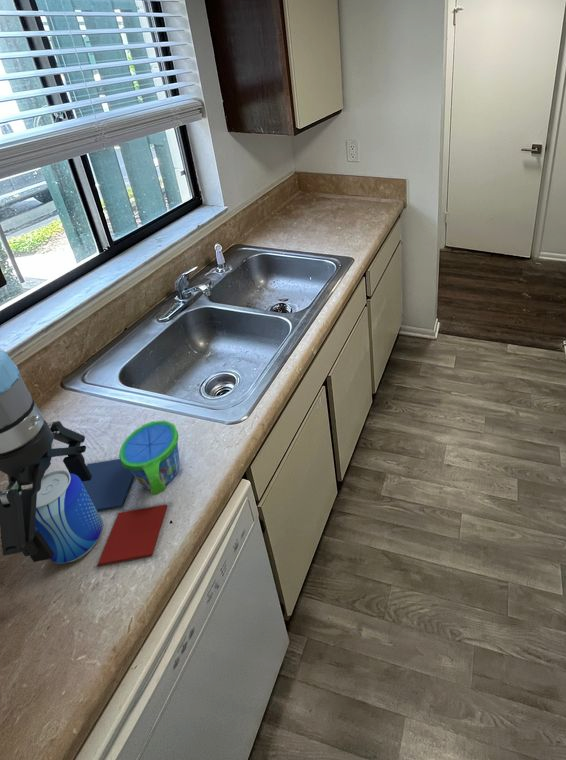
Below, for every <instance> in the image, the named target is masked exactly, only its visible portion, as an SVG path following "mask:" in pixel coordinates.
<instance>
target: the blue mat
mask: <svg viewBox="0 0 566 760" xmlns="http://www.w3.org/2000/svg"><path fill="white" fill-rule="evenodd" d="M86 466H87V468H88V470H89V472H90V473H91V475H92V478H91V480H89V481H83V482H82V483H83V485H84V487H85V489H86V491H87V493H88V495H89V496H90V498H91V500H92V502H93V504H94V506H95V508H96V510H97V512H100V511H101V512H102V511H105V510H112V509H117V508H122V507H123V506H124V505H125V501H126V499H127V496H128V494H129V491H130V489H131V486H132V485H133V484H132V483H133V481H134V478H135V477H134V475H133V474H132V473H131V472H130V470H129V469H126V468H124V467H123V466H122V463H121V460H120V458H117V459H110V460H106V461H99V462H93V463H87V464H86Z"/></svg>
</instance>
